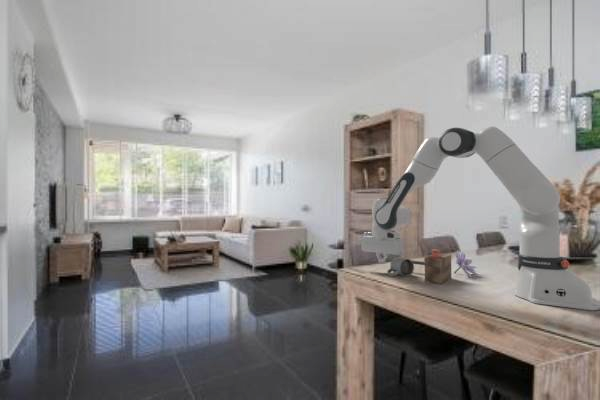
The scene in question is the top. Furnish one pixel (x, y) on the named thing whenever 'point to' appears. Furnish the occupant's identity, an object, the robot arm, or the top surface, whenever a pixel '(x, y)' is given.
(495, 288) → the top surface
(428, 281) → the brown rectangular block
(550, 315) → the top surface
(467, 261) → the water lily
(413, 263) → the handrail
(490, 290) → the top surface
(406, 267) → the ceramic mug
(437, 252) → the gauge button
